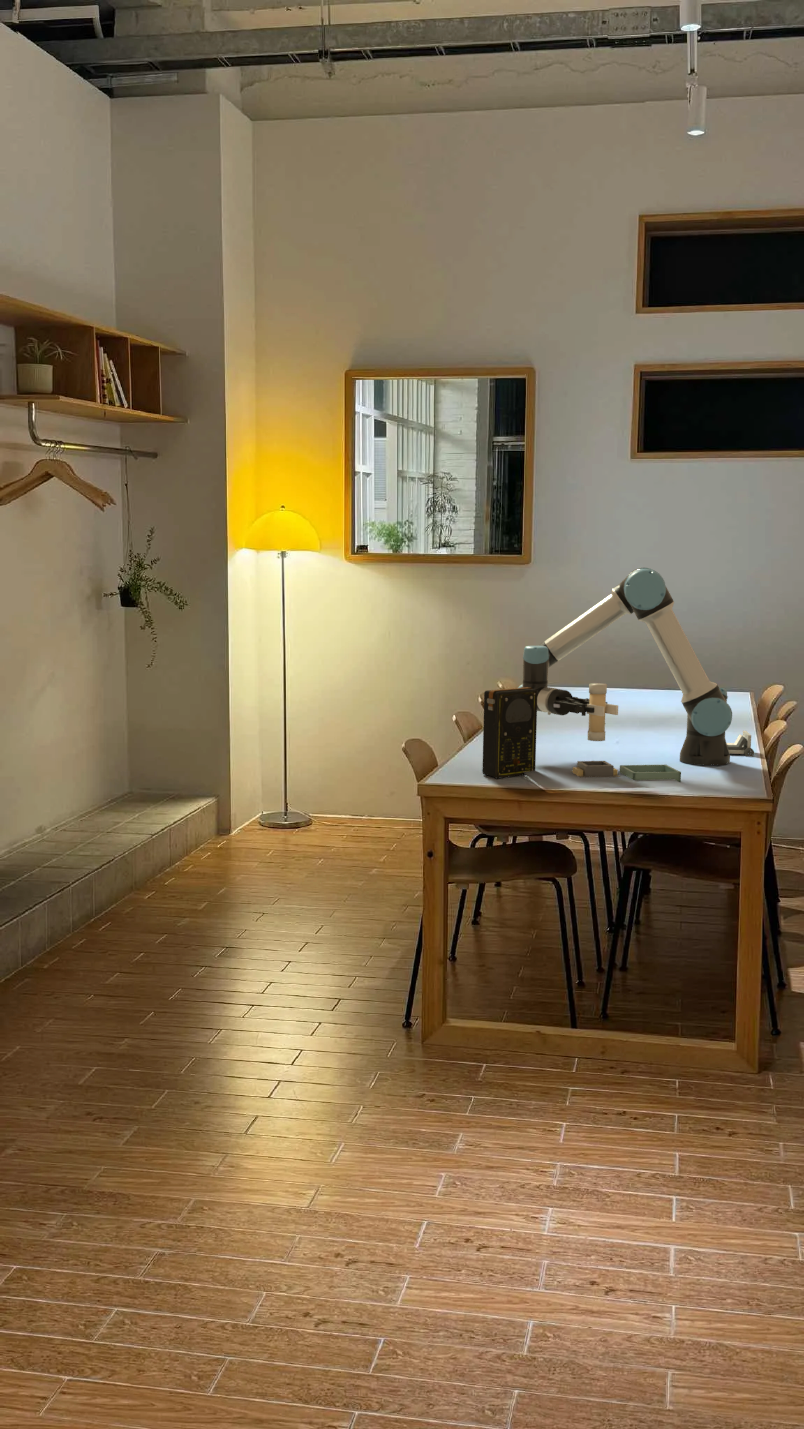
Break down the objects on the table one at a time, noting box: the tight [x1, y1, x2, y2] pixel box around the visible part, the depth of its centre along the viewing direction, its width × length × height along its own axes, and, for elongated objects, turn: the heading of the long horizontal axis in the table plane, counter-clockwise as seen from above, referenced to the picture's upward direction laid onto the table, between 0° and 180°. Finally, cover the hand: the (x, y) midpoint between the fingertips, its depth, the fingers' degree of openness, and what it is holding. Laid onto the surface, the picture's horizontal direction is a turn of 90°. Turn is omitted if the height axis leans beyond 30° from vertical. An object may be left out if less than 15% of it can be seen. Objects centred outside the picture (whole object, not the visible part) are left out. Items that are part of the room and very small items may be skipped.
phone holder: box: [726, 730, 755, 757], centre depth 425 cm, size 18×10×12 cm
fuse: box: [587, 682, 608, 742], centre depth 377 cm, size 5×5×16 cm
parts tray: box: [619, 764, 682, 783], centre depth 378 cm, size 14×12×3 cm
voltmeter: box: [482, 687, 538, 780], centre depth 380 cm, size 16×9×25 cm, turn 126°
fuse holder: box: [569, 760, 621, 778], centre depth 379 cm, size 12×10×4 cm
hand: (610, 710), depth 372 cm, fingers closed on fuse, 4 cm apart
